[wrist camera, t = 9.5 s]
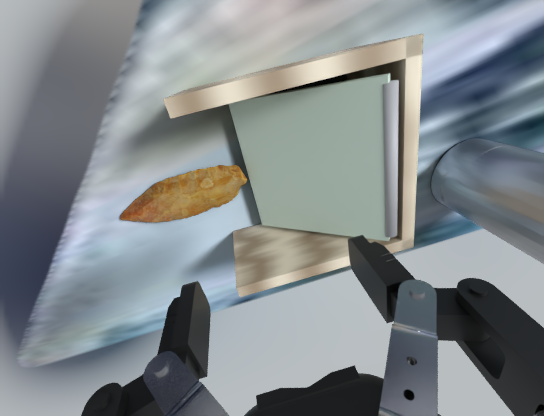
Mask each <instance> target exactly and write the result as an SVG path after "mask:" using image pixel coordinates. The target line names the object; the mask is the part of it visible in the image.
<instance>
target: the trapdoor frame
mask: <svg viewBox="0 0 544 416" xmlns="http://www.w3.org/2000/svg"><path fill="white" fill-rule="evenodd" d="M422 54H423V34H419V35H414V36H409V37H404V38H399V39H394V40H389V41H384V42H379V43H374V44H369V45H364V46H359V47H354V48H350V49H346V50H342V51H338V52H334V53H330V54H326V55H322V56H319V57H315V58H311V59H307V60H303V61H299V62H295V63H291V64H287V65H283V66H279V67H275V68H271V69H267V70H263V71H259V72H255V73H251V74H247V75H243V76H239V77H235V78H231V79H227V80H223V81H219V82H215V83H211V84H207V85H203V86H199V87H195V88H191V89H187V90H184V91H181V92H179V93H176V94H174V95H172V96H169V97H167V98H165V99H163V100H164V103H165V105H166V108H167V111H168V113H169V116H170V118H175V117H179V116H183V115H187V114H191V113H194V112H198V111H202V110H206V109H210V108H214V107H218V106H222V105H226V104H230V103H234V102H237V101H241V100H245V99H249V98H253V97H257V96H261V95H265V94H269V93H273V92H277V91H280V90H284V89H288V88H292V87H296V86H300V85H304V84H308V83H312V82H316V81H320V80H323V79H327V78H331V77H335V76H339V75H343V74H346V75H347V81H348V80H353V79H359V78H365V77H371V76H376V75H382V74H388V73H390V81H391V80H399V103H398V210H397V236H395V237H392V238H390V240H389V241H383V240H375V239H367V238H366V239H367V240H368V241H369V243H372V242H377V243H379V244H381V245H383V246H385V247H386V248H387V249H388V250H389V252H390V253H395V252H398V251H402V250H405V249H409V248H412V247H414V227H415V205H416V184H417V162H418V140H419V119H420V97H421V76H422ZM349 238H353V237H352V236H344V235H336V234H328V233H320V232H312V231H304V230H296V229H288V228H280V227H273V226H265V225H262V223H261V224H258V225H254V226H251V227H247V228H243V229H240V230H236V231H233V241H234V257H235V273H236V288H237V291H238V293H239V296H240V297H242V296H246V295H249V294H253V293H256V292H260V291H263V290H267V289H270V288H274V287H277V286H281V285H284V284H287V283H291V282H294V281H298V280H301V279H305V278H308V277H312V276H315V275H319V274H322V273H326V272H329V271H332V270H336V269H339V268H343V267H346V266H350V259H349V249H348V239H349Z"/></svg>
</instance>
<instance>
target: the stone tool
mask: <svg viewBox="0 0 544 416" xmlns="http://www.w3.org/2000/svg"><path fill="white" fill-rule="evenodd" d="M246 182H247V178H246V177H245V175H244V174H243V172H242V171H241V169H240V167H239V166H238V165H233V166H223V165H218V166H216V167H210V168H207V169H198V170H196V171H190V172H188V173H186V174H183V175H177V176H175V177H171V178H167V179H165V180H164V181H161V182H157V183H156V184H154V185H153V186H152V187H151V188H149V189H148V190H147V191H146V192H145V193H144V194H143V195H142V196H140V197H139V198H137V199H136V200H135V201H134V202H133V203H132V204H131V205H130V206H129V207H128V208H127V209H126V210H125V211H124V212H123V214H122V215H121V217H120V219H121V220H128V221H140V222H163V221H166V222H168V221H171V220H176V219H182V218H188V217H191V216H195V215H198V214H200V213H202V212H205V211H207V210H209V209H211V208H213V207H220V206H221V205H223V204H226V203H228V202H229V201H231V200H233V198H235V197H236V196H237V195H238V193H239V189H240V187H241V186H242V185H244V184H246Z"/></svg>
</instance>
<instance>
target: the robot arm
mask: <svg viewBox="0 0 544 416" xmlns="http://www.w3.org/2000/svg"><path fill="white" fill-rule="evenodd" d="M431 189H432V193H433V195H434V197H435V198H436V200H438V201H439V202H440V203H442V204H444V205H445V206H447V207H449V208H450V209H452V210H454V211H455V212H457V213H459V214H460V215H462V216H464V217H465V218H467V219H469V220H470V221H472V222H474V223H475V224H477V225H479V226H480V227H482V228H484V229H486V230H487V231H489V232H491V233H492V234H494V235H496V236H497V237H499V238H501V239H503V240H504V241H506V242H508V243H510V244H511V245H513V246H514V247H516V248H518V249H519V250H521V251H523V252H525V253H526V254H528V255H530V256H531V257H533V258H535V259H537V260H538V261H540V262H541V263H543V264H544V153H541V152H537V151H533V150H529V149H525V148H521V147H517V146H513V145H509V144H505V143H501V142H494V141H490V140H485V139H481V138H472V139H469V140H465V141H463V142H461V143H459V144H457V145H456V146H454V147H453V148H451V149H450V150H449V151H448V152H447V153H446V154H445V155H444V156H443V157H442V159H441V160H440V161H439V163H438V164H437V166H436V168H435V170H434V173H433V176H432V181H431ZM348 249H349V259H350V265H351V268H352V270H353V272H354V274H355V275H356V277H357V278H358V280H359V281H360V283H361V284H362V286H363V287H364V289H365V290H366V292H367V293H368V295H369V297H370V298H371V299H372V301H373V303H374V304H375V305H376V307H377V309H378V310H379V312H380V313H381V315H382V316H383V318H384V319H385V321H386V322H387V323H389V322H393V321H394V324H392V329H391V336H390V342H389V348H388V355H387V362H386V369H385V375H384V379H382V378H380V377H377V376H374V375H370V374H358V372H357V370H356V368H355V366H352V367H348V368H345V369H342V370H338V371H335V372H332V373H330V374H328V375H327V376H325V377H323V378H322V379H321V380H319V381H318V382H316V383H314V384H313V385H311V386H310V387H307V388H279V389H276V390H273V391H270V392H266V393H263V394H260V395H257V396H256V399H257V405H256V406H254V407H253V408H252V409H251V410H249V411H248V412H247V413H246V414H245V415H244V416H441V415H439V414H438V408H437V407H438V340H448V341H456V342H457V343H458V344H459V346H460V347H461V348H462V350H463V351H464V352H465V353H466V355H467V356H468V357H469V358H470V360H471V361H472V362H473V363H474V365H475V366H476V367H477V369H478V370H479V371H480V372H481V374H482V375H483V376H484V377H485V379H486V380H487V381H488V382H489V384H490V385H491V386H492V388H493V389H494V390H495V391H496V393H497V394H498V395H499V396H500V398H501V399H502V400H503V401H504V403H505V404H506V405H507V407H508V408H509V409H510V410H511V412H512V413H513V414H514V415H515V416H544V328H543V327H542V326H541V325H540V324H538V323H537V322H536V321H535V320H534V319H532V318H531V317H530V316H529V315H528V314H527V313H526V312H524V311H523V310H522V309H521V308H519V306H517V305H516V304H515V303H514V302H513V301H512V300H510V299H509V298H508V297H507V296H506V295H505V294H503V293H502V292H501V291H500V290H498V289H497V288H496V287H495V286H494V285H492V284H490V283H489V282H487V281H484V280H481V279H476V278H467V279H463V280H461V281H460V282H459V283H458V285H457V288H433V287H432V286H431V285H430V284H428V283H426V282H424V281H421V280H416V279H415V278H414V277H413V276H412V275H411V274H410V273H409V272H408V271H407V270H406V269H405V268H404V267H403V265H402V264H401V263H400V262H399V261H398V260H397V259H396V258H395V257H394V256H393V255H392V254H391V253H390V252H389V250H388V249H387V248H386V247H385V246H383V245H381V244H379V243H377V242H372V243H369V241H368V240H367V239H366V238H365V237H364V236H363V235H360V236H356V237H353V238H349V239H348ZM166 317H167V318H166V320H165V326H164V329H163V333H162V337H161V342H160V346H159V350H158V354H157V356H155V357H154V358H153V359H152V360H151V361H150V362H149V364H148V365H147V367H146V369H145V371H144V374H143V375H142V376H140V377H139V378H137V379H135V380H133V381H132V382H130V383H129V384H127V385H125V386H124V387H121V386H120V385H119V384H118V383H110V384H107V385H105V386H103V387H101V388H100V389H99V390H97V391H96V392H95V393H94V394H93V395H92V397H91V398H90V399H89V400H88V402H87V403H86V405H85V407H84V410H83V412H82V415H81V416H229V415H228V413H227V412H226V411H225V410H224V409H223V407H222V406H221V405H220V404H219V403H218V402H217V400H216V399H215V398H214V397H213V396H212V394H211V393H210V392H209V391H208V390H207V388H206V387H205V386H204V385H203V384H202V383H201V382H199V379H200V378H203V377H207V369H208V368H207V367H208V349H209V331H210V306H209V303H208V300H207V298H206V296H205V294H204V292H203V290H202V288H201V286H200V284H199V282H198V281H196V282H193V283H189V284H186V285H183V286H182V289H181V294H180V297H177V298H174V300H173V301H172V303H171V304H170V306H169V307H168V312H167V316H166Z"/></svg>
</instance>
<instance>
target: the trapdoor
mask: <svg viewBox="0 0 544 416" xmlns="http://www.w3.org/2000/svg"><path fill="white" fill-rule="evenodd" d="M398 103H399V80H391V81H390V73H388V74H382V75H376V76H371V77H365V78H359V79H353V80H348V81H342V82H336V83H331V84H325V85H319V86H314V87H308V88H302V89H297V90H291V91H285V92H280V93H274V94H268V95H263V96H257V97H253V98H249V99H245V100H241V101H237V102H234V103H230V104H229V108H230V111H231V115H232V119H233V122H234V126H235V129H236V133H237V136H238V140H239V144H240V147H241V151H242V154H243V158H244V161H245V165H246V169H247V172H248V176H249V179H250V183H251V186H252V190H253V194H254V197H255V201H256V204H257V208H258V211H259V215H260V218H261V222H262V225H265V226H273V227H280V228H288V229H296V230H304V231H312V232H320V233H328V234H336V235H344V236H352V237H356V236H360V235H363V236H364V237H365V238H367V239H375V240H383V241H389V240H390V238H392V237H395V236H397V210H398Z"/></svg>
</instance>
